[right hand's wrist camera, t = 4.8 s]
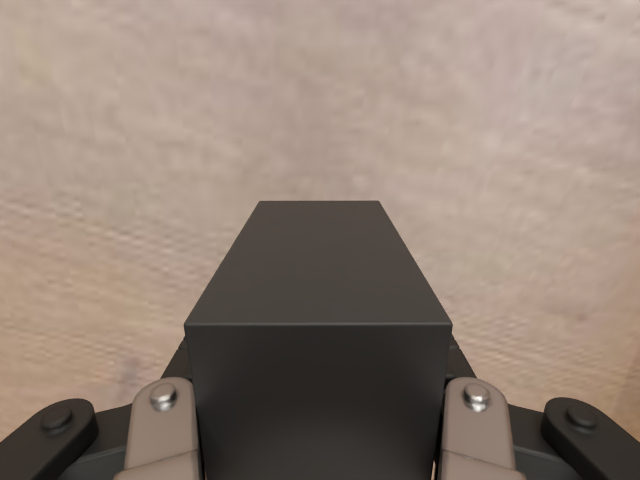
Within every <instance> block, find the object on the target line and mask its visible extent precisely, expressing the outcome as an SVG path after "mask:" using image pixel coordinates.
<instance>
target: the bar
mask: <svg viewBox="0 0 640 480" xmlns="http://www.w3.org/2000/svg"><path fill="white" fill-rule="evenodd" d="M452 326H453V324H452V322H451V320H450V318H449V317H448V315H447V313H446V312H445V310H444V308H443V307H442V305H441V303H440V302H439V300H438V298H437V297H436V295H435V293H434V292H433V290H432V288H431V287H430V285H429V283H428V282H427V280H426V279H425V277H424V275H423V274H422V272H421V270H420V269H419V267H418V265H417V264H416V262H415V260H414V259H413V257H412V255H411V254H410V252H409V250H408V249H407V247H406V245H405V244H404V242H403V240H402V239H401V237H400V235H399V234H398V232H397V230H396V229H395V227H394V225H393V224H392V222H391V220H390V219H389V217H388V215H387V214H386V212H385V210H384V209H383V207H382V205H381V204H380V202H379V201H259V203H258V204H257V206H256V208H255V209H254V211H253V212H252V214H251V216H250V217H249V219H248V221H247V222H246V224H245V225H244V227H243V229H242V230H241V232H240V234H239V235H238V237H237V238H236V240H235V242H234V243H233V245H232V247H231V248H230V250H229V251H228V253H227V255H226V256H225V258H224V260H223V261H222V263H221V264H220V266H219V268H218V269H217V271H216V273H215V274H214V276H213V277H212V279H211V281H210V282H209V284H208V286H207V287H206V289H205V290H204V292H203V294H202V295H201V297H200V299H199V300H198V302H197V303H196V305H195V307H194V308H193V310H192V311H191V313H190V315H189V316H188V318H187V320H186V321H185V323H184V330H185V337H186V344H187V351H188V357H189V364H190V371H191V378H192V385H193V391H194V398H195V405H196V412H197V418H198V425H199V432H200V439H201V446H202V452H203V459H204V466H205V473H206V479H207V480H431V476H432V469H433V462H434V455H435V448H436V440H437V433H438V426H439V419H440V412H441V405H442V397H443V390H444V383H445V376H446V369H447V362H448V355H449V347H450V340H451V333H452Z"/></svg>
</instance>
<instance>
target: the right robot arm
mask: <svg viewBox="0 0 640 480" xmlns="http://www.w3.org/2000/svg"><path fill="white" fill-rule="evenodd" d="M434 462H435V469H434V479H433V480H640V442H638V441H637V440H636V439H635V438H634V437H632V436H631V435H630V434H629V433H627V432H626V431H625V430H624V429H623V428H621V427H620V426H619V425H618V424H616V423H615V422H614V421H613V420H612V419H610V418H609V417H608V416H607V415H605V414H604V413H603V412H601V411H600V410H598V409H597V408H595V407H593V406H591V405H589V404H587V403H585V402H582V401H579V400H576V399H572V398H565V397H559V398H554V399H551V400H549V401H548V402H547V403H546V406H545V409H544V413H543V412H539V411H534V410H530V409H526V408H522V407H517V406H514V405H510V404H508V403H507V400H506V398H505V396H504V395H503V394H502V392H501V391H500V390H499V389H497V388H496V387H495V386H493V385H492V384H490V383H488V382H486V381H483V380H481V379H477V377H476V375H475V374H474V372H473V370H472V368H471V367H470V365H469V363H468V361H467V360H466V358H465V356H464V354H463V353H462V351H461V349H459V346H458V344H457V342H456V340H454V337H453V335H452V333H451V340H450V347H449V355H448V362H447V369H446V376H445V383H444V390H443V397H442V405H441V412H440V419H439V426H438V433H437V440H436V448H435V455H434ZM0 480H207V479H206V473H205V466H204V459H203V452H202V446H201V439H200V432H199V425H198V418H197V412H196V405H195V398H194V391H193V385H192V378H191V371H190V364H189V357H188V351H187V344H186V337H184V340H183V341H182V342H181V344H180V345H179V347H178V350H177V351H176V352H175V354H174V356H173V358H172V359H171V361H170V363H169V365H168V366H167V368H166V370H165V371H164V373H163V375H162V377H161V378H160V379H159V380H157V381H154V382H152V383H150V384H148V385H147V386H145V387H144V388H143V389H141V390H140V391H139V392H138V394H137V395H136V396H135V398H134V400H133V403H131V404H129V405H126V406H122V407H118V408H114V409H110V410H106V411H101V412H97V413H95V411H94V408H93V405H92V404H91V403H90V402H89V401H87V400H85V399H67V400H63V401H60V402H57V403H54V404H52V405H49V406H48V407H46V408H44V409H42V410H40V411H39V412H37V413H36V414H35V415H33V416H32V417H31V418H30V419H28V420H27V421H26V422H25V423H24V424H22V425H21V426H20V427H19V428H17V429H16V430H15V431H14V432H13V433H11V434H10V435H9V436H8V437H6V438H5V439H4V440H3V441H2V442H0Z"/></svg>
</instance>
